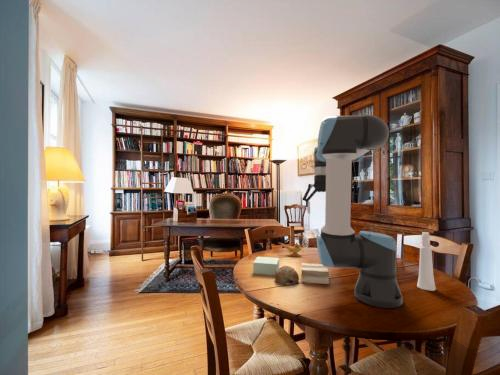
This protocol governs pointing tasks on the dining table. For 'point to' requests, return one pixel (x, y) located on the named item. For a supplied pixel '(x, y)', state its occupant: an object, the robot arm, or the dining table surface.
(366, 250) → the robot arm
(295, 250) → the magic lamp
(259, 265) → the green block
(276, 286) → the dining table surface
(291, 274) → the brown domed lump
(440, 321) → the dining table surface
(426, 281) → the cosmetic bottle
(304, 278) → the beech block
